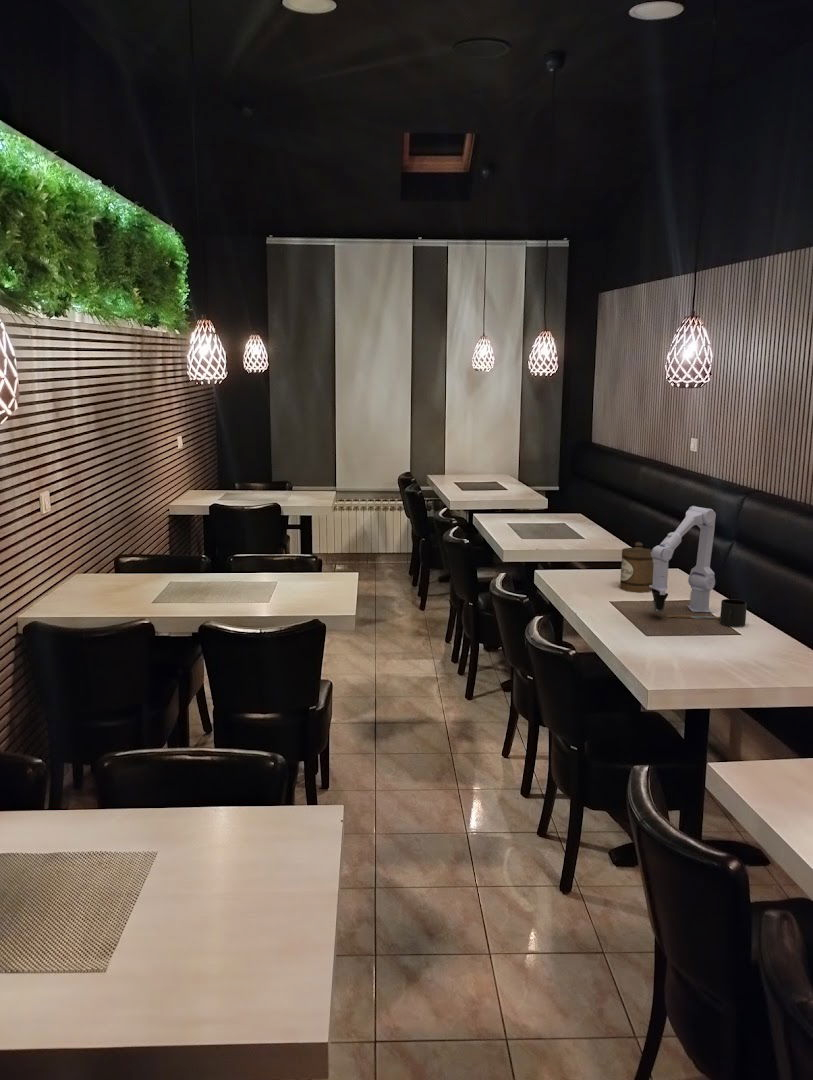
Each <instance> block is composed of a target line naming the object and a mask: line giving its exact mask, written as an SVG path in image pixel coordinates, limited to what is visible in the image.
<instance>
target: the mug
mask: <svg viewBox="0 0 813 1080" xmlns="http://www.w3.org/2000/svg"><path fill="white" fill-rule="evenodd" d="M747 606H748V603H747V601H745V600H742V599H736V598H725V599H722V600H721V603H720V614H719V615H720V616H719V617H720V620H719V623H720V624H722V625H724V626H726V627H731V628H734V627H735V628H740V627H744V626H745V625H746V619H747V618H746V617H747V609H748V608H747Z"/></svg>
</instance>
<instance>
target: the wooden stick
mask: <svg viewBox="0 0 813 1080" xmlns="http://www.w3.org/2000/svg"><path fill="white" fill-rule="evenodd" d="M666 616H667V617H677V618H676V619H690V618H694V619H695V620H719V621H720V616H708V615H683V614H682V615H681V614H680V615H679V614H666ZM666 616H665V617H666ZM667 617H666V618H667Z"/></svg>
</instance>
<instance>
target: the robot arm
mask: <svg viewBox="0 0 813 1080" xmlns="http://www.w3.org/2000/svg"><path fill="white" fill-rule="evenodd" d="M716 516H717V514H716V512H715V511H714V510H713V509H712V508H706V507H700V506H696V505H692V506H689V508H688V510H686V512H685V516H684V519H683V520H682V521H681V523H680V524H678V527H677V528H676V529H675V530H674V531H673V532H672V531H671V532H669V533H667V536H666V537H665V538H664V539H663V540H662V541H661V542H660V544H659V545H656V546H654V547H653V548H652V549H651V550H652V552H651V557H652V558H653V563H654V567H653V585H649V587H650V588H653V589H651V591H650V592H651V593H652V597H653V598H652V599H653V601H656V608H657V610H662V609H663V606H664V603H666V599H667V597H668V596H669V594H668V592H667V593H666V591H667V590H668V580H669V579H668V577H669V576H668V575H669V561H670V560H671V559H672V558H673V554H674V552H675V550H676V548H677V547H678V546H680V544H681V543H682V537H684V535H686V534H687V533H688V532H689V531H690V530H691V528H692V527H694V526H697V527H698V528H699V529H700V532H699V539H698V547H697V556H696V565H695V566H694V567H693V568H691V569H690V573H689V576H688V585H689V586H690V589H691V591H690V596H689V597H690V598H689V605H688V604H687V605H686V607H688V609H689V610H690V611H691V612H695V613H712V610H711V609H710V598H711V595H710V594H711V591H712V590H713V589H714V588H715V585H716V578H715V574H716V573H715V572H714V571H713V570H712V568H711V559H712V554H713V553H712V552H713V544H714V535H715V527H716V525H715V524H716Z"/></svg>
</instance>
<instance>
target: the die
mask: <svg viewBox="0 0 813 1080" xmlns="http://www.w3.org/2000/svg"><path fill="white" fill-rule="evenodd" d="M665 603H666V602H664V606H663V609H662V610H657V608H656V601H654V600H652V606H651V607H652V608H651V610H652V612H653V613H656V614H659V613H660V614H661V613H662V614H663V613H665V605H666V604H665Z"/></svg>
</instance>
